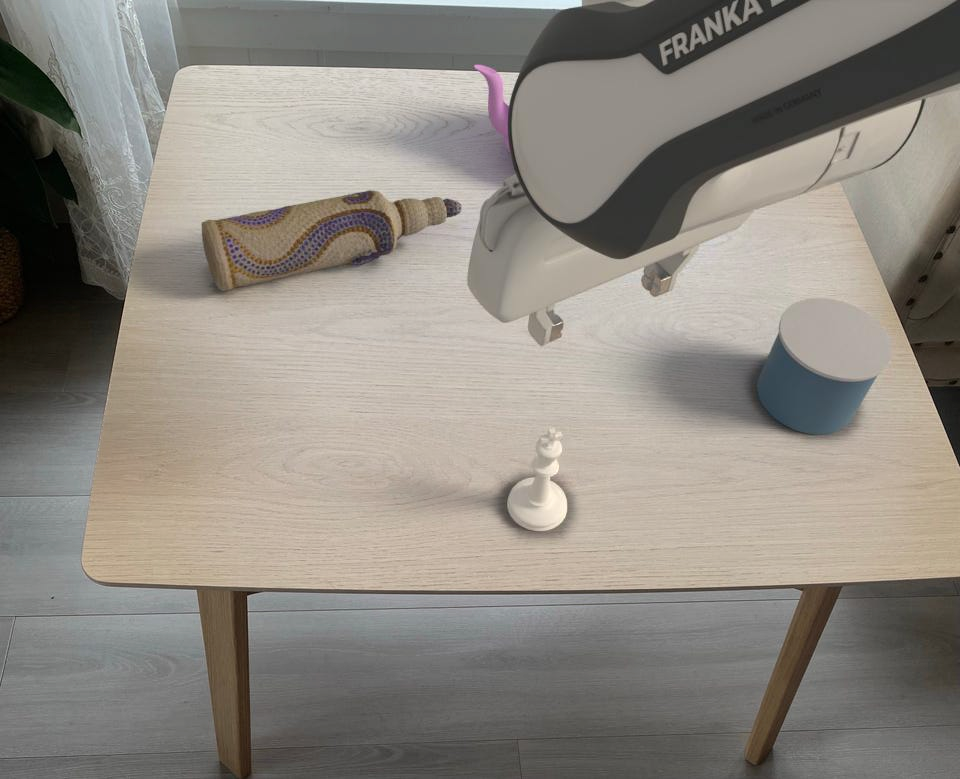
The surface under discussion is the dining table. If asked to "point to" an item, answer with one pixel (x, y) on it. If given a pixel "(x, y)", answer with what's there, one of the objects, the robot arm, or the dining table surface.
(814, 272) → the dining table surface
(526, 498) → the chess piece
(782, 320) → the yogurt tub
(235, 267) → the decorative bottle
